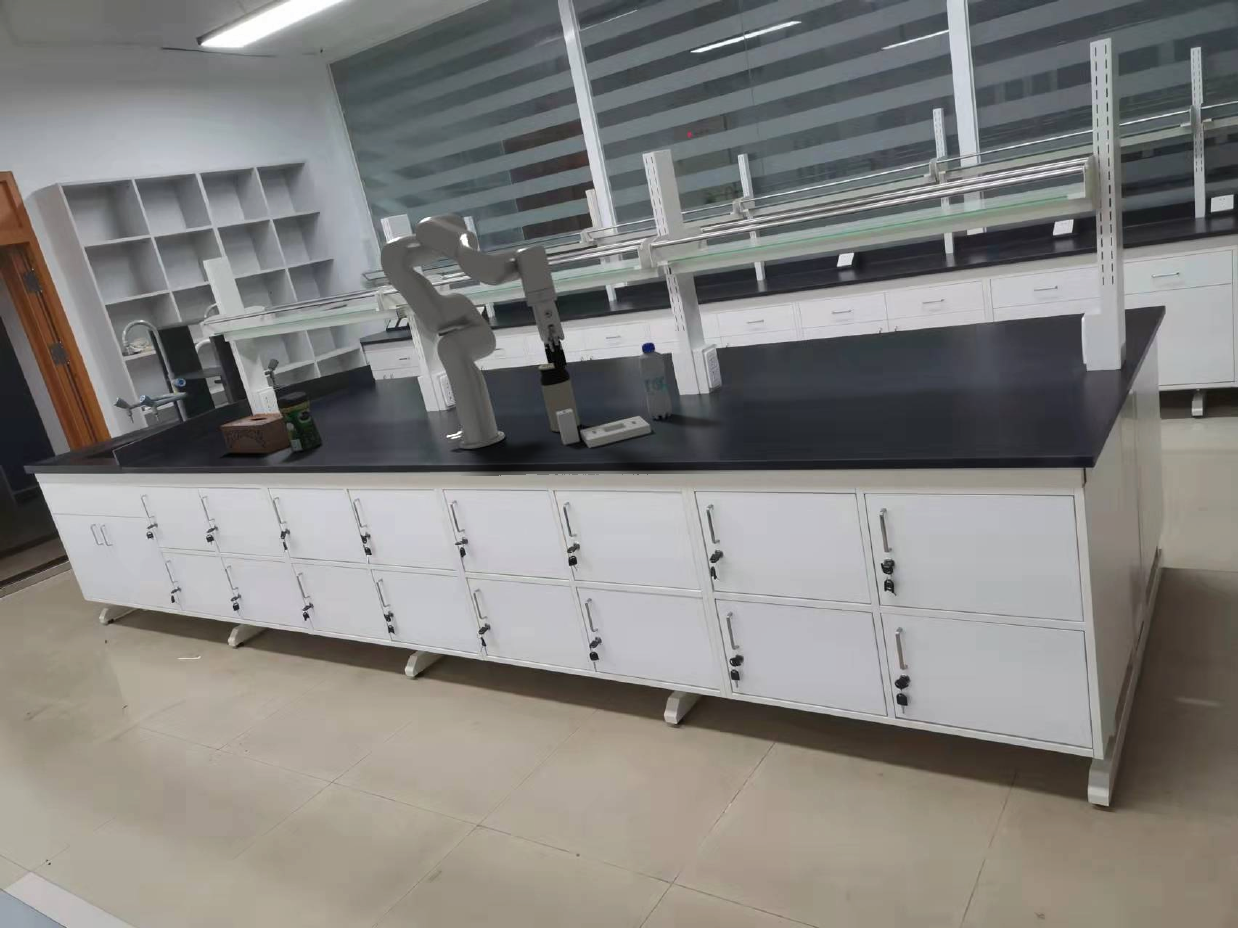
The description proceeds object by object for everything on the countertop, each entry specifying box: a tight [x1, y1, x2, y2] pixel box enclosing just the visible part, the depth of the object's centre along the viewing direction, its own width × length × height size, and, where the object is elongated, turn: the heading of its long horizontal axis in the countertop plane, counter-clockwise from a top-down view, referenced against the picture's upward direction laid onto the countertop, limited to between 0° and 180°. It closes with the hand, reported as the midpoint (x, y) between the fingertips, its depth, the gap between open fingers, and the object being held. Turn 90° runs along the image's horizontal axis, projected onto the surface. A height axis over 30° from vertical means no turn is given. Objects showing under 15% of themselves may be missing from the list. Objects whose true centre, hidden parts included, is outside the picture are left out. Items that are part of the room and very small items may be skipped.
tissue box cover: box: [220, 412, 290, 454], centre depth 306 cm, size 26×14×10 cm, turn 54°
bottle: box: [638, 342, 673, 420], centre depth 230 cm, size 7×7×20 cm
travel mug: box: [537, 362, 581, 433], centre depth 240 cm, size 8×8×18 cm
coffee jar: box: [276, 391, 323, 453], centre depth 286 cm, size 10×8×19 cm
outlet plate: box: [579, 415, 652, 449], centre depth 224 cm, size 16×12×2 cm
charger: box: [556, 409, 580, 446], centre depth 226 cm, size 4×4×8 cm
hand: (557, 364), depth 222 cm, fingers open, 9 cm apart
